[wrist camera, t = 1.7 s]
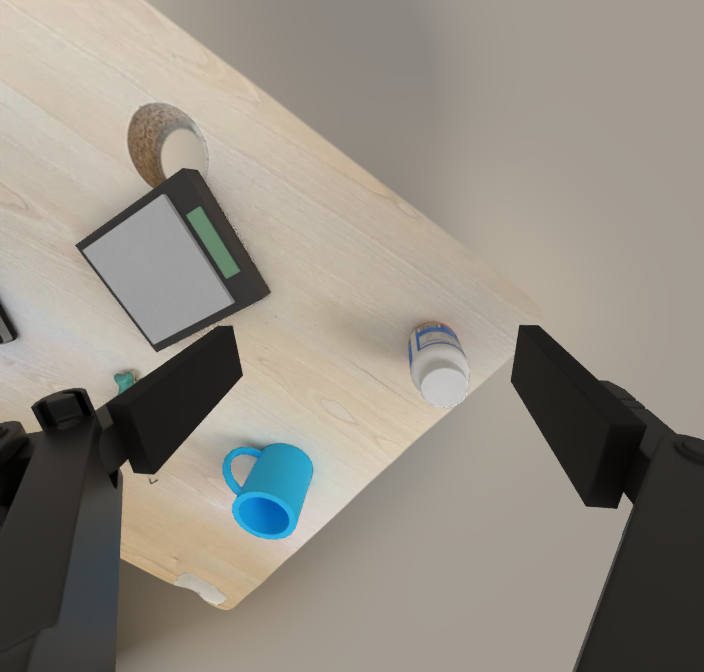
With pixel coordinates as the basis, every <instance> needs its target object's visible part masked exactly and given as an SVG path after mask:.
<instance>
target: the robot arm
mask: <svg viewBox="0 0 704 672" xmlns="http://www.w3.org/2000/svg"><path fill="white" fill-rule="evenodd" d="M242 376H243V373H242V368H241V364H240V359H239V354H238V349H237V345H236V340H235V335H234V330H233V326H217V327H216V328H214V329H213V330H211V331H210V332H208V333H207V334H206V335H204V336H203V337H201V338H200V339H198V340H197V341H196V342H194V343H193V344H191V345H190V346H188V347H187V348H186V349H184V350H183V351H181V352H180V353H178V354H177V355H175V356H174V357H173V358H171V359H170V360H168V361H167V362H165V363H164V364H163V365H161V366H160V367H158V368H157V369H155V370H154V371H153V372H151V373H150V374H148V375H147V376H145V377H144V378H142V379H140V380H139V381H137V382H136V383H135V384H133V385H132V386H131V387H129V388H127V389H126V390H124V391H123V392H122V393H120V394H119V395H117V396H116V397H114V398H113V399H112V400H110V401H109V402H107V403H106V404H104V405H103V406H101V407H100V408H99V409H97V410H96V411H95V410H94V407H93V405H92V403H91V401H90V398H89V396H88V394H87V391H86V389H83V388H72V389H67V390H63V391H59V392H56V393H53V394H51V395H49V396H46V397H44V398H42V399H41V400H39V401H37V402H36V403H35V404H34V405H33V406H32V407H31V408H32V410H33V412H34V414H35V416H36V418H37V420H38V422H39V424H40V426H41V428H42V430H43V431H40V432H34V433H28V434H27V433H26V432H25V430H24V428H23V426H22V424H21V422H18V421H10V422H4V423H0V672H115V666H116V665H115V664H116V640H117V615H118V591H119V566H120V541H121V516H122V491H123V475H122V472H121V470H120V468H119V467H120V466H122V465H123V464H124V463H125V462H126V461H127V460H129V462H130V465H131V467H132V470H133V472H134V473H140V474H153V475H154V474H155V473H156V472H157V471H158V470H159V469H160V468H161V467H162V466H163V464H164V463H165V462H166V461H167V460H168V459H169V458H170V457H171V455H172V454H173V453H174V452H175V451H176V450H177V449H178V448H179V446H180V445H181V444H182V443H183V442H184V441H185V440H186V439H187V437H188V436H189V435H190V434H191V433H192V432H193V431H194V430H195V429H196V427H197V426H198V425H199V424H200V423H201V422H202V421H203V420H204V418H205V417H206V416H207V415H208V414H209V413H210V412H211V411H212V409H213V408H214V407H215V406H216V405H217V404H218V403H219V402H220V400H221V399H222V398H223V397H224V396H225V395H226V394H227V393H228V392H229V390H230V389H231V388H232V387H233V386H234V385H235V384H236V383H237V381H238V380H239V379H240V378H241V377H242ZM511 383H512V384H513V386H514V388H515V389H516V391H517V392H518V394H519V396H520V397H521V399H522V400H523V403H524V404H525V406H526V408H527V409H528V411H529V413H530V414H531V416H532V417H533V419H534V420H535V422H536V424H537V426H538V427H539V429H540V431H541V432H542V434H543V436H544V437H545V439H546V441H547V442H548V444H549V446H550V447H551V449H552V451H553V452H554V454H555V456H556V457H557V459H558V461H559V462H560V464H561V466H562V467H563V469H564V470H565V472H566V474H567V475H568V477H569V479H570V481H571V482H572V484H573V486H574V487H575V489H576V491H577V492H578V494H579V496H580V497H581V499H582V501H583V502H584V504H585V506H587V507H602V508H614V509H617V508H618V505H619V502H620V499H621V497H622V494H623V492H624V493H625V494H626V496H627V497H628V498H629V500H630V501H631V502H632V504H633V508H632V510H631V513H630V516H629V518H628V521H627V523H626V526H625V529H624V531H623V534H622V537H621V540H620V543H619V546H618V548H617V551H616V554H615V557H614V559H613V562H612V565H611V568H610V570H609V573H608V576H607V579H606V581H605V584H604V587H603V589H602V592H601V595H600V598H599V600H598V603H597V606H596V609H595V611H594V614H593V617H592V620H591V622H590V625H589V628H588V631H587V633H586V636H585V639H584V641H583V644H582V647H581V650H580V652H579V655H578V658H577V661H576V664H575V666H574V669H573V672H704V440H702V439H699V438H695V437H691V436H687V435H681V434H676V433H675V432H674V431H673V430H672V429H670V428H669V427H668V426H667V425H666V424H664V423H663V422H662V421H661V420H659V418H657V417H656V416H655V415H654V414H653V413H652V412H650V411H649V410H648V409H645V407H644V406H643V405H642V404H641V403H640V402H639V401H636V399H635V398H634V397H633V396H632V395H630V394H629V393H628V392H627V391H626V390H625V389H623V388H621V387H619V386H617V385H615V384H613V383H611V382H609V381H599V380H598V379H596V378H595V377H594V376H593V375H592V374H591V373H590V372H589V371H588V370H586V368H584V367H583V366H582V365H581V364H580V363H579V362H578V361H577V360H576V359H574V357H572V356H571V355H570V354H569V353H568V352H567V351H566V350H565V349H564V348H563V347H562V346H561V345H559V344H558V343H557V342H556V341H555V340H554V339H553V338H552V337H551V336H550V335H549V334H547V333H546V332H545V331H544V330H543V329H542V328H541V327H540V326H539V325H519V331H518V337H517V344H516V350H515V356H514V363H513V370H512V376H511Z"/></svg>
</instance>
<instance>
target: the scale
mask: <svg viewBox="0 0 704 672" xmlns="http://www.w3.org/2000/svg"><path fill="white" fill-rule="evenodd" d="M75 246H76V247H77V248H78V250H79V251H80V252H81V254H82V255H83V256H84V258H85V259H86V260H87V262H88V263H89V264H90V266H91V267H92V268H93V270H94V271H95V272H96V273H97V275H98V276H99V277H100V279H101V280H102V281H103V283H104V284H105V285H106V287H107V288H108V289H109V291H110V292H111V293H112V295H113V296H114V297H115V298H116V300H117V301H118V302H119V304H120V305H121V306H122V308H123V309H124V310H125V312H126V313H127V314H128V316H129V317H130V318H131V320H132V321H133V322H134V324H135V325H136V326H137V327H138V329H139V330H140V331H141V333H142V334H143V335H144V337H145V338H146V339H147V341H148V342H149V343H150V345H151V346H152V347H153V349H154V350H155V351H156V352H159V351H160V350H162V349H164V348H166V347H168V346H170V345H172V344H174V343H176V342H178V341H180V340H182V339H184V338H186V337H188V336H190V335H192V334H194V333H196V332H198V331H200V330H202V329H204V328H206V327H208V326H210V325H212V324H214V323H216V322H218V321H220V320H222V319H224V318H226V317H228V316H230V315H231V314H233V313H235V312H237V311H239V310H241V309H243V308H245V307H247V306H249V305H251V304H253V303H255V302H257V301H259V300H261V299H263V298H264V297H266V296H267V295H268V294H270V293H271V292H270V290H269V289H268V287H267V285H266V284H265V282H264V280H263V279H262V277H261V275H260V274H259V272H258V270H257V268H256V267H255V265H254V263H253V262H252V260H251V258H250V257H249V255H248V253H247V252H246V250H245V248H244V247H243V245H242V243H241V242H240V240H239V238H238V237H237V235H236V233H235V232H234V230H233V228H232V227H231V225H230V223H229V222H228V220H227V218H226V216H225V215H224V213H223V211H222V210H221V208H220V206H219V205H218V203H217V201H216V200H215V198H214V196H213V195H212V193H211V191H210V190H209V188H208V186H207V185H206V183H205V181H204V180H203V178H202V176H201V175H200V173H199V171H198V170H193V169H186V168H183V169H181V170H180V171H178V172H177V173H175V174H174V175H173V176H171V177H170V178H168V179H167V180H166V181H164V182H163V183H161V184H160V185H159V186H157V187H156V188H154V189H153V190H152V191H150V192H149V193H147V194H146V195H145V196H143V197H142V198H140V199H139V200H138V201H136V202H135V203H134V204H132V205H131V206H129V207H128V208H127V209H125V210H124V211H122V212H121V213H120V214H118V215H117V216H115V217H114V218H113V219H111V220H110V221H108V222H107V223H106V224H104V225H103V226H101V227H100V228H99V229H97V230H96V231H94V232H93V233H92V234H90V235H89V236H88V237H86V238H85V239H83V240H82V241H81V242H79V243H78V244H76V245H75Z"/></svg>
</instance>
